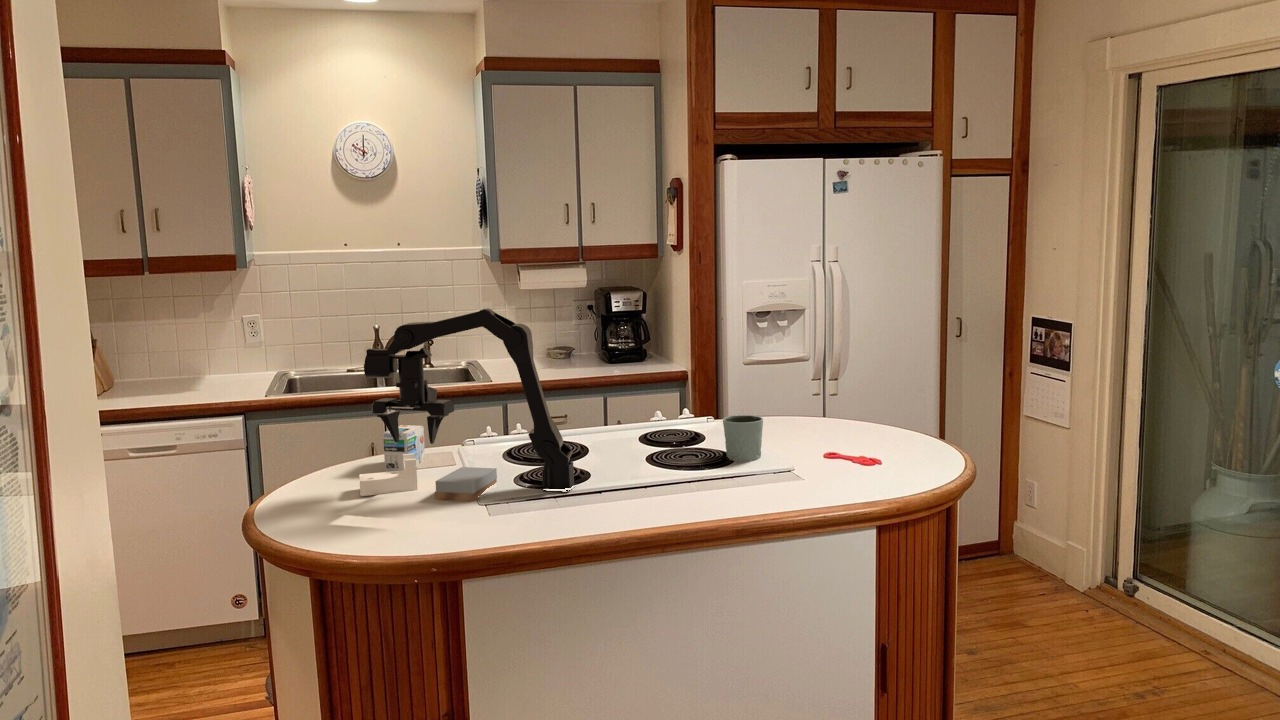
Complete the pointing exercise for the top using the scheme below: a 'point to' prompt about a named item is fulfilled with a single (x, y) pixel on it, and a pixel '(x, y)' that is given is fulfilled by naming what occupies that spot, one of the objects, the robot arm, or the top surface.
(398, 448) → the light bulb box
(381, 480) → the bracket
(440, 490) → the slate slab
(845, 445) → the top surface
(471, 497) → the walnut slab
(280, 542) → the top surface
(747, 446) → the green cup
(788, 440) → the top surface
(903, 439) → the top surface
